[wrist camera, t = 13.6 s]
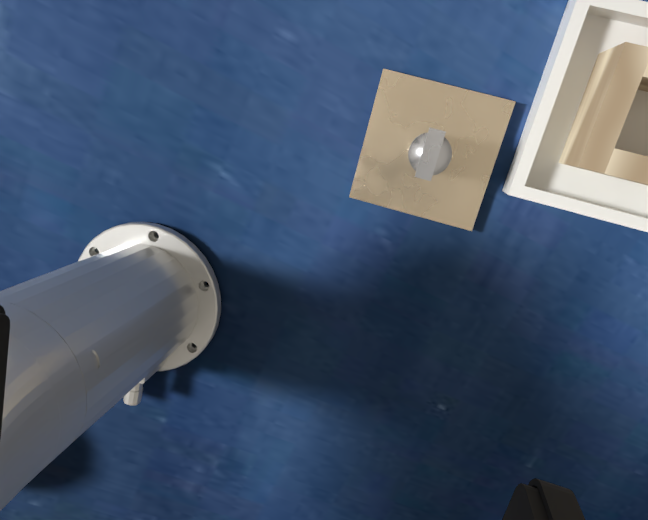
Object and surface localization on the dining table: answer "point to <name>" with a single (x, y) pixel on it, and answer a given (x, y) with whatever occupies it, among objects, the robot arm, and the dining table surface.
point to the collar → (609, 115)
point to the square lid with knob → (430, 148)
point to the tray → (560, 110)
